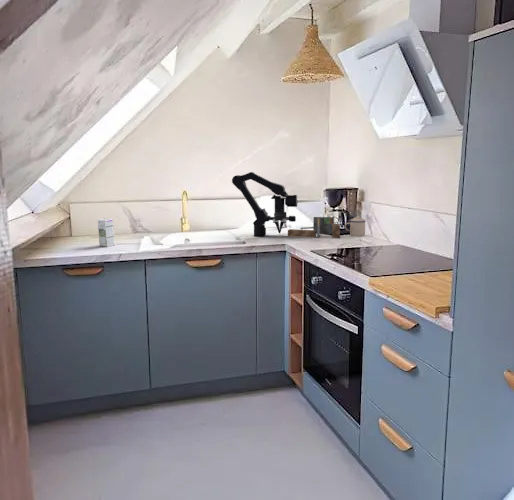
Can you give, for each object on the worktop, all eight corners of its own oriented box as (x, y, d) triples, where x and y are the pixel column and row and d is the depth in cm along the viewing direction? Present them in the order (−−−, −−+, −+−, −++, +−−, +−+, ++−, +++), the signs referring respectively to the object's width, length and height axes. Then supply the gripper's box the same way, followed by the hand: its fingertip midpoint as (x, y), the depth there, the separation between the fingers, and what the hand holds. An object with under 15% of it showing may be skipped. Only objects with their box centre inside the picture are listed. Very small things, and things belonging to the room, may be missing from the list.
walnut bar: (287, 236, 294) (287, 230, 293) (289, 235, 297) (289, 229, 297) (314, 238, 288) (314, 231, 288) (316, 237, 292) (316, 230, 291)
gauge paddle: (317, 236, 288) (317, 221, 286) (317, 233, 302) (317, 218, 300) (319, 236, 288) (319, 221, 286) (319, 233, 302) (319, 218, 300)
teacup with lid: (365, 234, 299) (365, 214, 297) (365, 236, 290) (365, 216, 288) (344, 233, 302) (345, 214, 300) (344, 236, 293) (344, 216, 291)
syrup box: (115, 245, 268) (113, 218, 265) (106, 247, 263) (104, 219, 260) (107, 244, 270) (105, 217, 268) (99, 246, 265) (97, 219, 263)
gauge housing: (313, 237, 287) (313, 220, 285) (313, 233, 304) (313, 217, 302) (339, 238, 285) (340, 220, 284) (338, 233, 302) (338, 217, 300)
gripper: (262, 207, 284) (262, 235, 287) (295, 208, 282) (294, 235, 285) (264, 206, 295) (264, 232, 298) (295, 206, 293) (295, 232, 296)
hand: (279, 233), depth 294 cm, fingers closed
